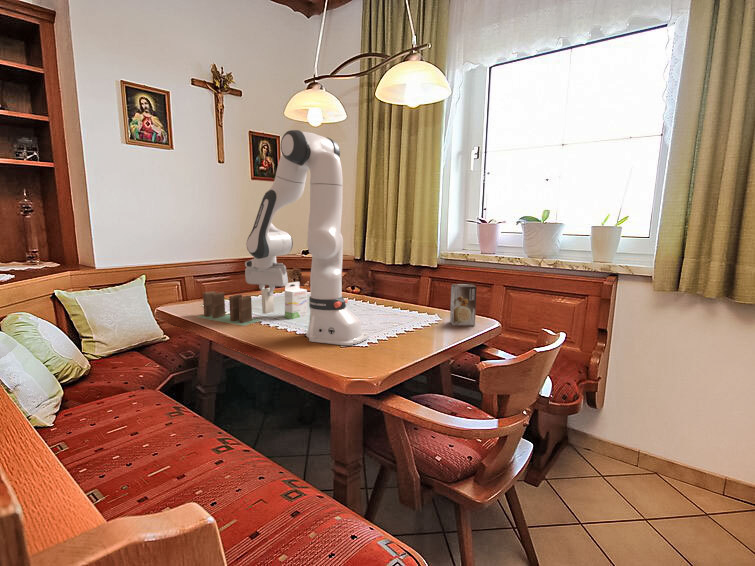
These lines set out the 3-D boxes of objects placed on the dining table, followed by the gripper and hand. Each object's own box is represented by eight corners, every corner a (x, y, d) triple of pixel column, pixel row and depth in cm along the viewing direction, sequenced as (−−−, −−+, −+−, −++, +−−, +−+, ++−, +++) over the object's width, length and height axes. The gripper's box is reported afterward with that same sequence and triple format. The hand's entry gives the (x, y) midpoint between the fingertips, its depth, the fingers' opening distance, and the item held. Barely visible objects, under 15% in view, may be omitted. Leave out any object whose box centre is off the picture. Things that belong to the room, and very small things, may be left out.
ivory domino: (274, 311, 169) (272, 288, 168) (265, 313, 165) (264, 289, 163) (270, 310, 170) (269, 287, 168) (262, 313, 166) (261, 289, 164)
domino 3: (242, 318, 164) (241, 294, 162) (233, 321, 160) (232, 297, 158) (239, 318, 165) (238, 294, 163) (230, 320, 160) (229, 296, 159)
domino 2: (225, 315, 168) (224, 292, 167) (215, 318, 164) (214, 294, 162) (222, 315, 169) (221, 292, 168) (212, 317, 165) (211, 294, 163)
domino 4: (252, 320, 162) (251, 296, 160) (242, 323, 157) (241, 298, 156) (248, 319, 163) (247, 295, 161) (239, 322, 158) (238, 297, 157)
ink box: (292, 319, 165) (291, 284, 163) (284, 317, 168) (283, 283, 165) (307, 316, 172) (307, 282, 169) (300, 314, 175) (299, 281, 172)
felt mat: (262, 320, 163) (262, 320, 163) (244, 326, 154) (243, 325, 154) (215, 312, 175) (215, 312, 175) (195, 317, 166) (195, 316, 166)
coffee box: (471, 321, 167) (473, 283, 164) (475, 325, 160) (477, 286, 158) (449, 321, 166) (451, 283, 164) (452, 325, 160) (454, 286, 157)
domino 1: (216, 314, 171) (215, 291, 169) (207, 316, 166) (205, 293, 165) (213, 313, 171) (212, 291, 170) (204, 316, 167) (202, 292, 165)
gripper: (290, 262, 162) (292, 296, 164) (252, 261, 171) (254, 292, 174) (280, 264, 157) (281, 298, 159) (241, 262, 166) (244, 295, 168)
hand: (267, 295), depth 166 cm, fingers closed on ivory domino, 2 cm apart
